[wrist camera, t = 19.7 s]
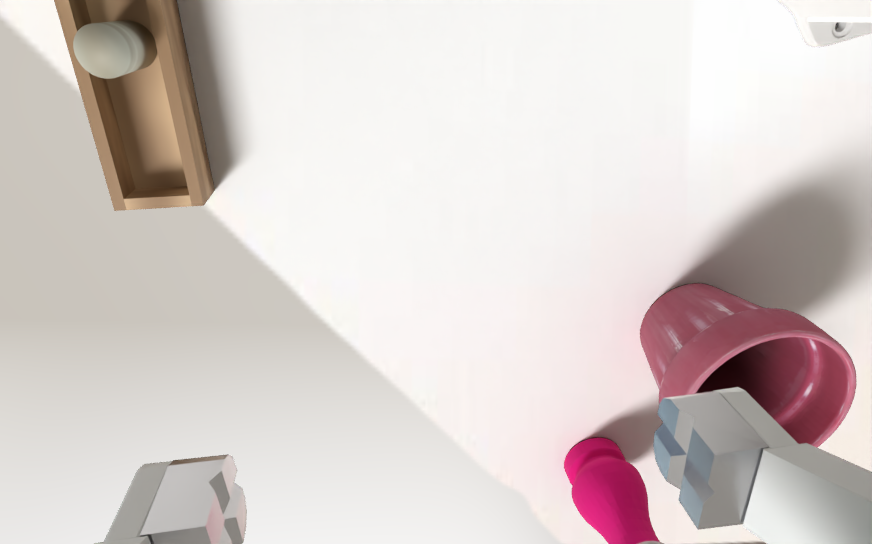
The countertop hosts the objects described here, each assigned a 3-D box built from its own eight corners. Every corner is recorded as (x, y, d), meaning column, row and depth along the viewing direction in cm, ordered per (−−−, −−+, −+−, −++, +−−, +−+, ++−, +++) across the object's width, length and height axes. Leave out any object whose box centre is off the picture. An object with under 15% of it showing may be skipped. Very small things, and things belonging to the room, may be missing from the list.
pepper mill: (574, 428, 58) (670, 617, 40) (634, 438, 60) (752, 624, 42) (549, 479, 61) (628, 677, 43) (607, 487, 63) (706, 681, 45)
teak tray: (158, -88, 35) (121, -104, 29) (214, 190, 43) (193, 218, 37) (56, -87, 34) (-1, -103, 29) (132, 195, 42) (98, 224, 37)
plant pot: (582, 341, 54) (643, 433, 42) (691, 228, 50) (790, 297, 38) (676, 404, 59) (753, 503, 47) (781, 307, 55) (893, 389, 43)
